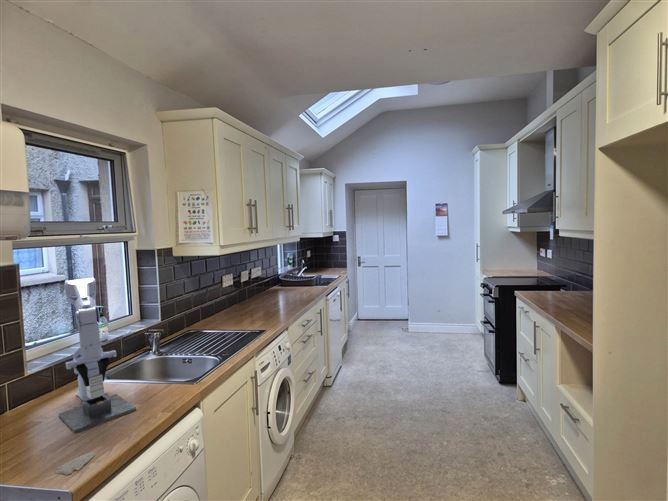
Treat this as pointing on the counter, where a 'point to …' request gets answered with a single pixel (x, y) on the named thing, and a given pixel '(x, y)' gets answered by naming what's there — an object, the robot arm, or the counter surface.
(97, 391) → the column
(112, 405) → the stand base
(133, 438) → the counter surface
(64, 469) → the arrowhead
